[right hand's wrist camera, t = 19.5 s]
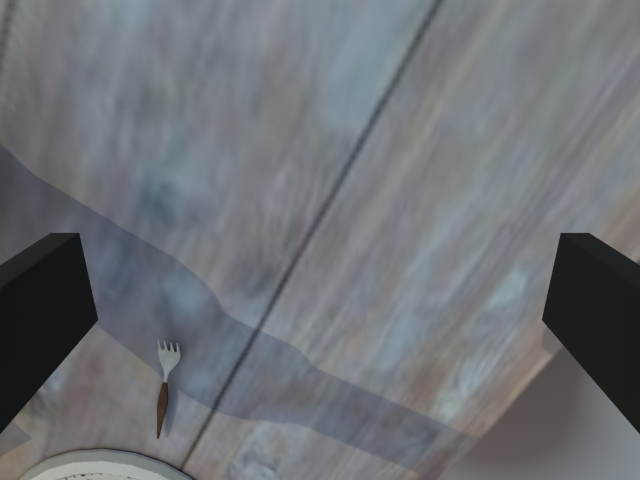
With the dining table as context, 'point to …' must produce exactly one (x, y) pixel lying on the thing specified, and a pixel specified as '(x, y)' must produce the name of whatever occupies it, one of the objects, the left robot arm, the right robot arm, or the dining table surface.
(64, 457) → the wall clock
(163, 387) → the fork
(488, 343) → the dining table surface
